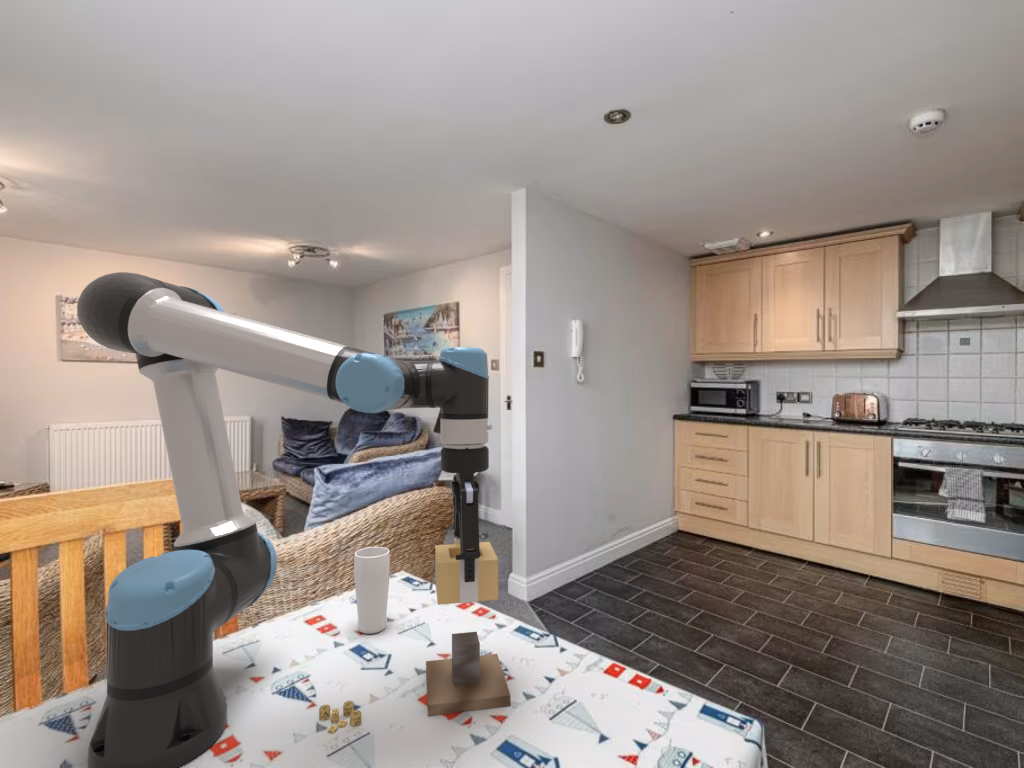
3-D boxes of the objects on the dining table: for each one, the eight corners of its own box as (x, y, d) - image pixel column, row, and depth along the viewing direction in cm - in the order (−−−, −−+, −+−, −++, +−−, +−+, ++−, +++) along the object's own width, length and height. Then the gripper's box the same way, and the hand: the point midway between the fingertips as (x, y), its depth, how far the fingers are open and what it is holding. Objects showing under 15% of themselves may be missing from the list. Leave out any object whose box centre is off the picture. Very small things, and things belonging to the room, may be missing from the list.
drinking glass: (351, 625, 100) (351, 549, 100) (385, 618, 103) (385, 544, 103) (357, 640, 94) (357, 559, 94) (393, 632, 97) (393, 554, 97)
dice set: (318, 719, 72) (318, 706, 72) (355, 709, 75) (355, 696, 75) (323, 741, 68) (323, 726, 68) (362, 729, 70) (362, 715, 70)
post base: (427, 715, 72) (427, 663, 72) (426, 670, 84) (425, 624, 84) (510, 705, 74) (510, 654, 74) (497, 662, 86) (497, 618, 86)
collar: (437, 604, 74) (437, 563, 74) (435, 582, 83) (435, 545, 83) (498, 599, 76) (498, 559, 76) (489, 577, 85) (489, 541, 85)
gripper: (499, 453, 70) (500, 617, 69) (479, 438, 91) (480, 564, 91) (445, 454, 68) (445, 622, 68) (437, 439, 90) (438, 567, 89)
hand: (465, 588), depth 79 cm, fingers closed on collar, 9 cm apart
